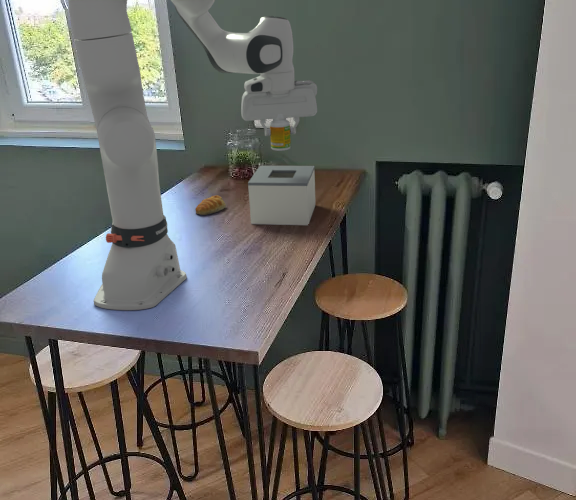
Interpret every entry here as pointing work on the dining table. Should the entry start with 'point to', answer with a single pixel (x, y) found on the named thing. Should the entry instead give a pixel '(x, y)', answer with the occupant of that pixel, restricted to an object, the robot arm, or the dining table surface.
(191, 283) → the dining table surface
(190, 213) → the dining table surface
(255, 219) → the hole box
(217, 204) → the pastry
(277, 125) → the supplement bottle
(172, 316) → the dining table surface
